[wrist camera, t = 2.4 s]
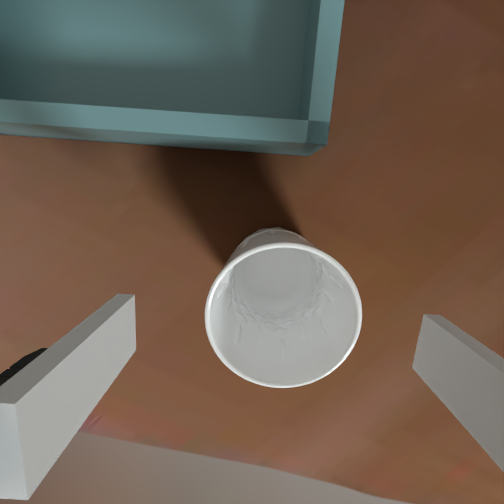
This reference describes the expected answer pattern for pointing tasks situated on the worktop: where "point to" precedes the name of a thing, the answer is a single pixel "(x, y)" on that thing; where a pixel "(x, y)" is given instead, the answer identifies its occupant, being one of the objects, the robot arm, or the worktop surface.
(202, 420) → the worktop surface
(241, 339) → the white cup
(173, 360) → the worktop surface
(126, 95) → the walled box
